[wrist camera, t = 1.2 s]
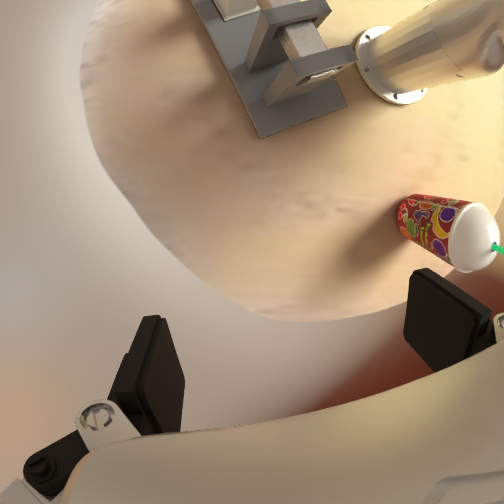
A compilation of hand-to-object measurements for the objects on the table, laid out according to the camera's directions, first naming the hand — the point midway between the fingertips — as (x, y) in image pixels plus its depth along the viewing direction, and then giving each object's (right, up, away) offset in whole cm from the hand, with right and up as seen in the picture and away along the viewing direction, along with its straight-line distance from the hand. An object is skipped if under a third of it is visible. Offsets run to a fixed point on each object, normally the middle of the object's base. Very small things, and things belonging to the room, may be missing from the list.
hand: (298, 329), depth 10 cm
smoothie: (+22, +8, +30) cm, 38 cm away
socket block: (0, +30, +21) cm, 36 cm away
